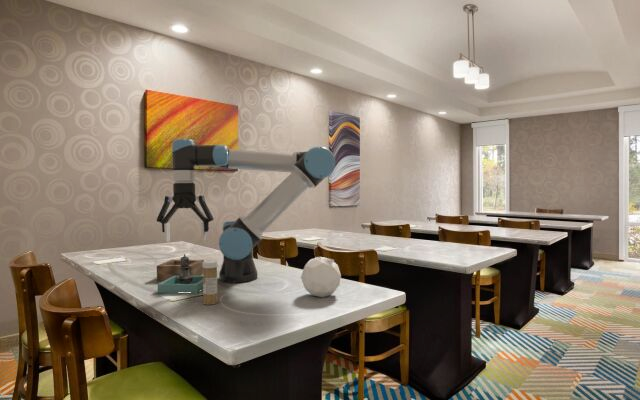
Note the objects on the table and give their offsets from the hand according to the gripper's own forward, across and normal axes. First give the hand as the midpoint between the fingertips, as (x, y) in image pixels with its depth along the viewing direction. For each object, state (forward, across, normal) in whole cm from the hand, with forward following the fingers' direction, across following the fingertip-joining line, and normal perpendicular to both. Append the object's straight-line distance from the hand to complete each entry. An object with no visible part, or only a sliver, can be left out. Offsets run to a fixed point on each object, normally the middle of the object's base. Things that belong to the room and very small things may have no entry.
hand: (185, 241), depth 147 cm
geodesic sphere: (+18, -49, +7) cm, 53 cm away
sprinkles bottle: (+18, -15, +18) cm, 29 cm away
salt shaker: (+17, 0, 0) cm, 17 cm away
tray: (+17, +1, 0) cm, 17 cm away
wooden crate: (+17, +10, -18) cm, 27 cm away
